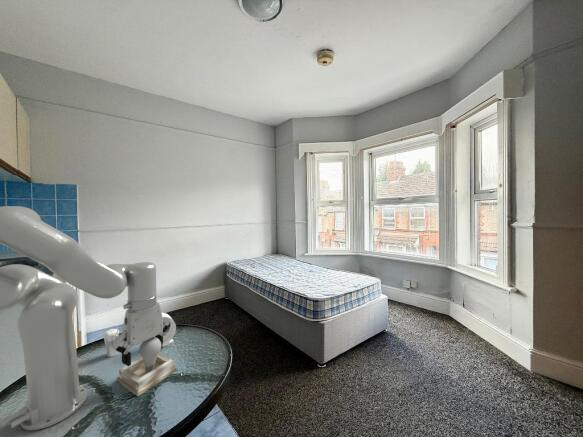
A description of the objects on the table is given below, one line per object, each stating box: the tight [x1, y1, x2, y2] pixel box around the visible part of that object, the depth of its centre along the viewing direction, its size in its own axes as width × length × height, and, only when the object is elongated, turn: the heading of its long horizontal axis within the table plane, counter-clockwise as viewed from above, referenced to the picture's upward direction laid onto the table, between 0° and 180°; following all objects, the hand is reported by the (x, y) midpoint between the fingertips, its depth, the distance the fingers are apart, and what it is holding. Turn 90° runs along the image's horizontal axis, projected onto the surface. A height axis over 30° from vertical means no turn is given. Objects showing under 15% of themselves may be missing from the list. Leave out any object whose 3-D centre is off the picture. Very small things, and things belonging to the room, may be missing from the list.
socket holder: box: [116, 352, 177, 397], centre depth 75 cm, size 12×12×4 cm
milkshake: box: [103, 328, 120, 358], centre depth 86 cm, size 4×5×10 cm
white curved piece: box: [162, 312, 177, 347], centre depth 93 cm, size 5×6×12 cm
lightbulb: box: [138, 337, 162, 372], centre depth 75 cm, size 6×6×11 cm
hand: (143, 355), depth 75 cm, fingers open, 9 cm apart
